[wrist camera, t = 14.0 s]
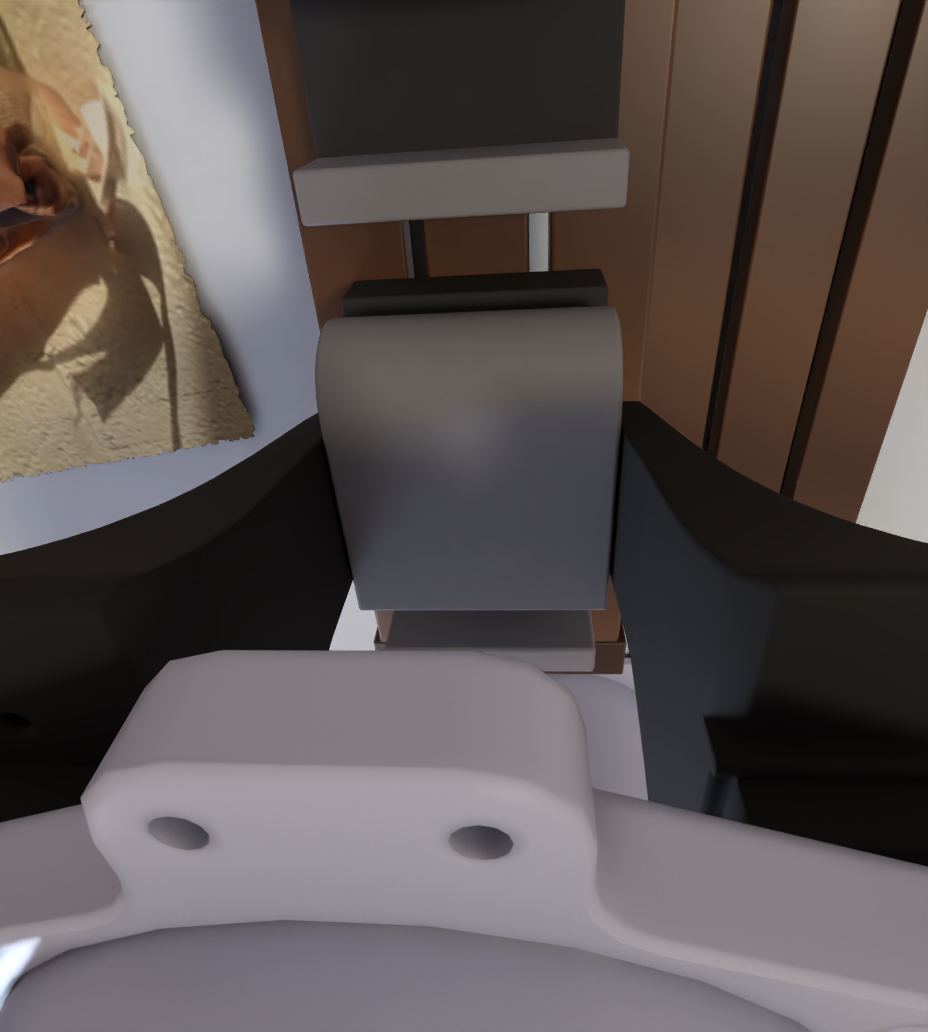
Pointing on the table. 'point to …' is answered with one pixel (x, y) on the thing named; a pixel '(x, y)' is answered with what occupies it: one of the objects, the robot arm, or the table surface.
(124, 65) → the table surface
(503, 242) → the shoe rack
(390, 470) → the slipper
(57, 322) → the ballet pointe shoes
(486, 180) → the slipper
